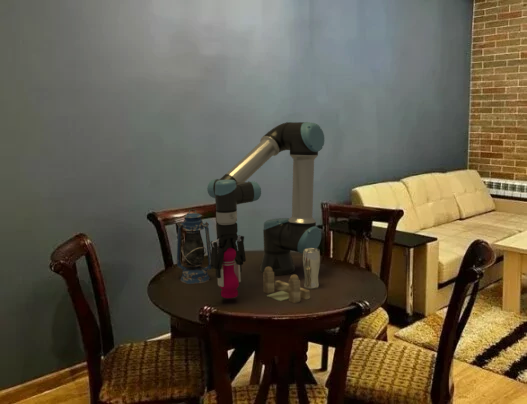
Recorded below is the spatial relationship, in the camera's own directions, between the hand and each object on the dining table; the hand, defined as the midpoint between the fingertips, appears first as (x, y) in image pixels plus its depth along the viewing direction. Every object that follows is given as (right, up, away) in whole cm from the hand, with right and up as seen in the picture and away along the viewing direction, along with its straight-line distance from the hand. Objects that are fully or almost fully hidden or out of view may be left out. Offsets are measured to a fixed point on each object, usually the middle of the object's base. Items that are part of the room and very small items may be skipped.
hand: (229, 283), depth 203 cm
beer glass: (+32, -4, +17) cm, 36 cm away
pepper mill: (0, -5, +1) cm, 5 cm away
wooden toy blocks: (+20, -6, +6) cm, 22 cm away
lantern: (-16, -3, +29) cm, 33 cm away
